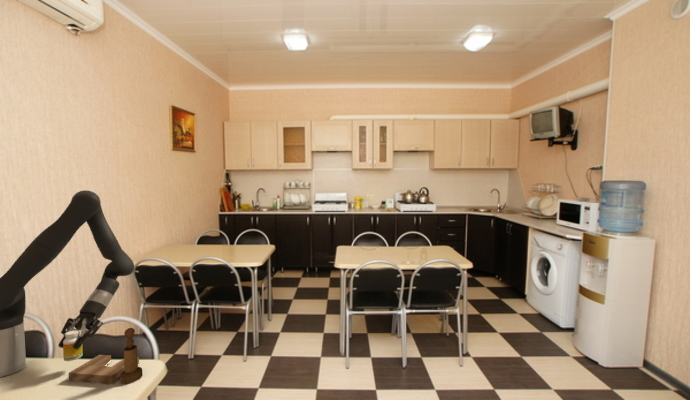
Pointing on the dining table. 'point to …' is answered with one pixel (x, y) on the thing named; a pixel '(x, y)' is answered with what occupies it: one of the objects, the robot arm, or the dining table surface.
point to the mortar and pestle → (130, 360)
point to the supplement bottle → (71, 346)
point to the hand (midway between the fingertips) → (68, 347)
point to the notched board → (98, 371)
